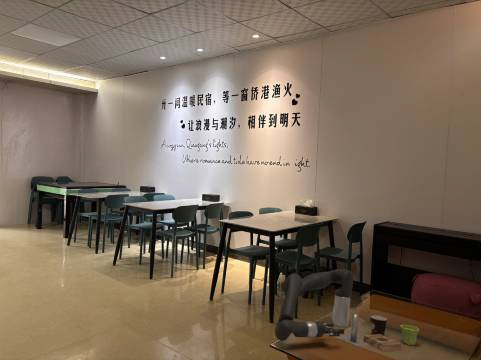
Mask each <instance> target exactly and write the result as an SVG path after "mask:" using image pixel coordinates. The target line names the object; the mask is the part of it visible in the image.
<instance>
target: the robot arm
mask: <svg viewBox="0 0 481 360" xmlns="http://www.w3.org/2000/svg"><path fill="white" fill-rule="evenodd" d="M353 283H354V274H353V272H352V271H351V270H348V269H345V268H337V269H334V270H333V269H332V270H329V271H323V272H322V271H321V272H314V273H311V274H309V275H306V276H305V277H303V278H302V277H301V276H300V275H299V274H297V273H295V272H294V273H290V274H289V275H288V276H287V277H286V278H285V279H284V281H283V282H282V284H281V290H282V292H283V293H284V294H286V295H285V297H284V300H283V302H282V304H281V307H280V312H279V317H278V320H277V323H276V326H275V328H274V335H275V338H277V340H279V341H281V342H283V341H286V340H287V339H289V337H290V336H291V335H293V336H294V337H295V338H308V339H309V338H310V339H313V338H323V335H328V337H338V336H341V335H345V329H343V327H345V328H346V327H349V322H350V308H351V295H352V291H353V285H354V284H353ZM330 284H339V285H341V287H340V289H336V290H335V291H334V302H333V303H334V304H333V307H332V314H331V316H332V317H331V318H332V319H331V323H325V322H323V321H312V320H311V321H301V322H300V321H299V322H297V321H295V320H294V318H295V312H296V307H297V306H296V305H297V301H298V299H299V294H301V293H305V292H309V291H314V290H315V291H316V290H321V289H324V288H327V287H328V286H329V285H330ZM334 326H336V327H341V328H340V329H339V328H334Z"/></svg>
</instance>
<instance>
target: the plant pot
mask: <svg viewBox="0 0 481 360" xmlns="http://www.w3.org/2000/svg"><path fill="white" fill-rule="evenodd" d="M400 328H401V335H402V343H406V344H405V345H407V344H408V345H407V346H415V345H416V343H417V337H418V334H419V331H420V328H418V327H417V326H414V325H411V324H410V325H409V324H400ZM414 344H415V345H414Z"/></svg>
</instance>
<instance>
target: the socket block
mask: <svg viewBox="0 0 481 360" xmlns="http://www.w3.org/2000/svg"><path fill="white" fill-rule="evenodd" d="M363 341H364V342H366V343H368V344H370V345H369V346H371V347H374V348H375V349H377V350H380V351H382V352H391V351H392V352H393V351H400V350H402V342H399V341H396V340H395V339H393V338H390V337H388V336H385V334H384V335H381V334H376V335H372V334H365V335H363Z"/></svg>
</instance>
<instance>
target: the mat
mask: <svg viewBox="0 0 481 360" xmlns="http://www.w3.org/2000/svg"><path fill="white" fill-rule="evenodd" d="M337 337H338V338H339V339H341V340H343V341H345V342H347V343H348V344H350V343H352V344H354V345H357V346H356V347H360V346H361V347H362V346H371V345H370V344H368V343H366V342H364V340H362V339H360V338H358V337H357V342H351V341H350V339H351V335H340V336H337ZM352 344H351V345H352ZM354 345H353V346H354Z"/></svg>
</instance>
